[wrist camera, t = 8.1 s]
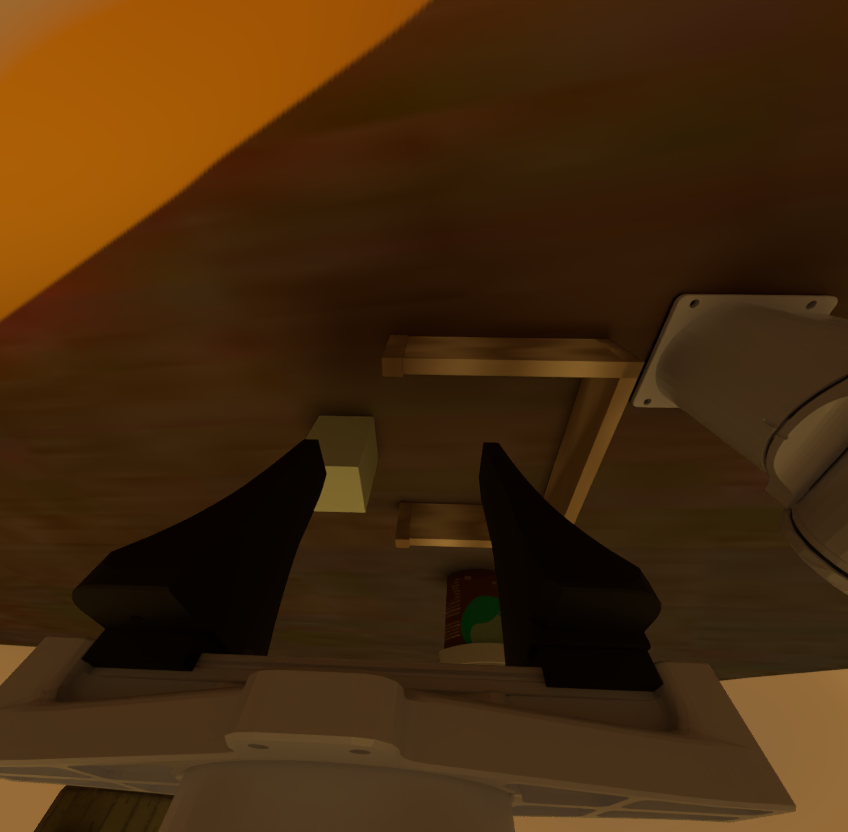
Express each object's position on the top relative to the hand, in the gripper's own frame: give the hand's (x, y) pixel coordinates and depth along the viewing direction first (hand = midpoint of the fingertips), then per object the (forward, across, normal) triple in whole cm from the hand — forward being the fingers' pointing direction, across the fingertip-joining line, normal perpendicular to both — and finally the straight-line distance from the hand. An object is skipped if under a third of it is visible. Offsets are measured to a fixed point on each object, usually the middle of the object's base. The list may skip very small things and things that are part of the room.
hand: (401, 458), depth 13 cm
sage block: (+10, +6, +7) cm, 14 cm away
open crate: (+10, -5, +7) cm, 13 cm away
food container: (+11, -9, +29) cm, 32 cm away
